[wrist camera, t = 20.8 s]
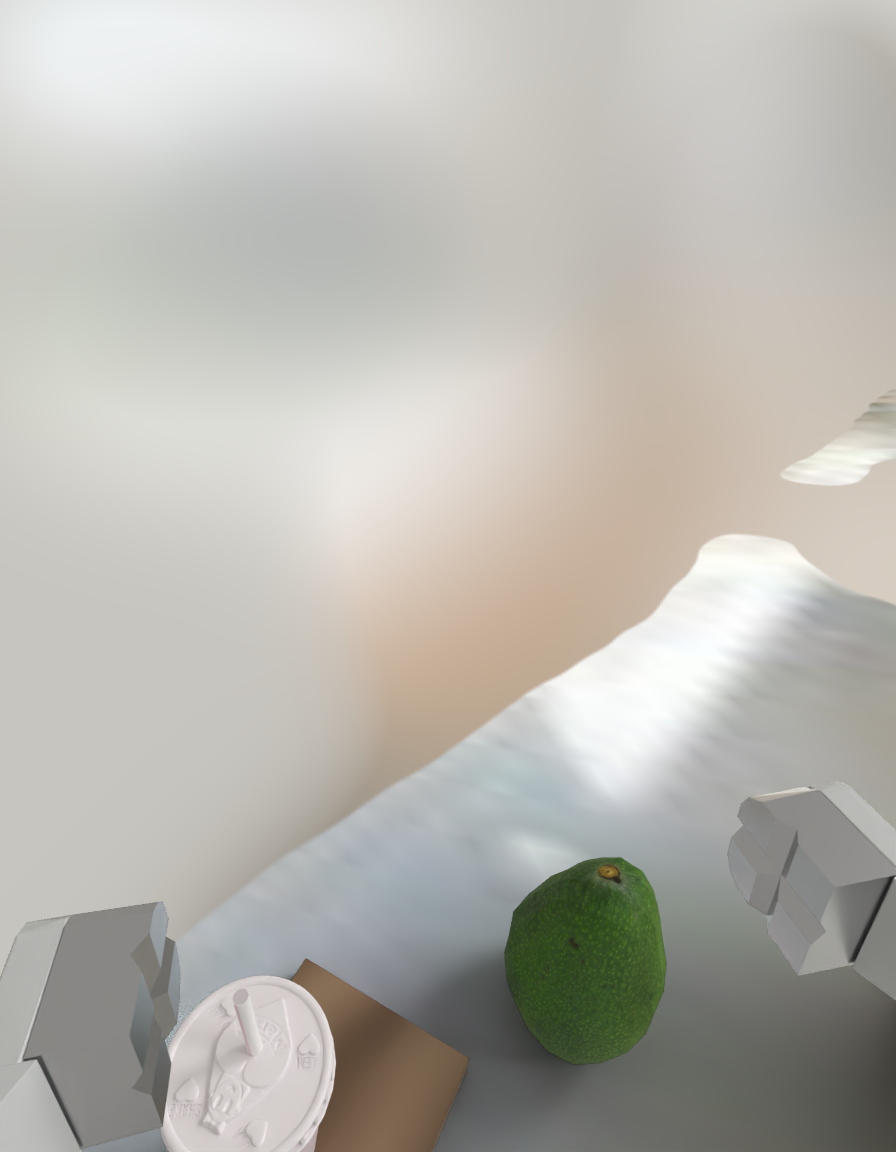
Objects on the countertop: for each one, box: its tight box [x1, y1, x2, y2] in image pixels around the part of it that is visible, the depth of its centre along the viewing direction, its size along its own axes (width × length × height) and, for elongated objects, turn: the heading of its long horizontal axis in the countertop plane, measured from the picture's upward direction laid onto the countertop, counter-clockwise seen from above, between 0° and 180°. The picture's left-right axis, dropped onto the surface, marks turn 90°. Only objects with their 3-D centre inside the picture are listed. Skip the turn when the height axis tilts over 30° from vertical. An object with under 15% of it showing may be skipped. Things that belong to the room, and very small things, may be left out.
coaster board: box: [291, 959, 469, 1152], centre depth 32 cm, size 10×10×2 cm
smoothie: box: [160, 976, 336, 1152], centre depth 26 cm, size 6×6×14 cm
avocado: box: [504, 858, 667, 1065], centre depth 33 cm, size 8×8×12 cm
